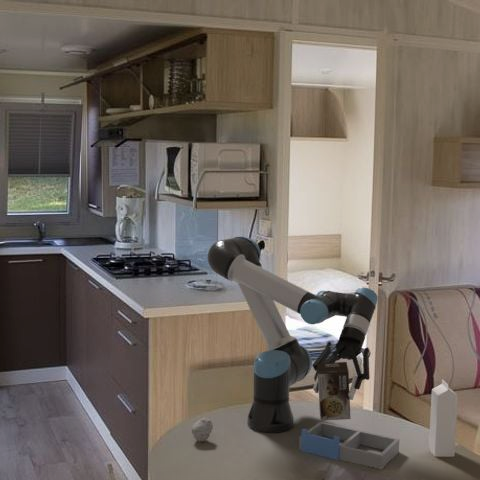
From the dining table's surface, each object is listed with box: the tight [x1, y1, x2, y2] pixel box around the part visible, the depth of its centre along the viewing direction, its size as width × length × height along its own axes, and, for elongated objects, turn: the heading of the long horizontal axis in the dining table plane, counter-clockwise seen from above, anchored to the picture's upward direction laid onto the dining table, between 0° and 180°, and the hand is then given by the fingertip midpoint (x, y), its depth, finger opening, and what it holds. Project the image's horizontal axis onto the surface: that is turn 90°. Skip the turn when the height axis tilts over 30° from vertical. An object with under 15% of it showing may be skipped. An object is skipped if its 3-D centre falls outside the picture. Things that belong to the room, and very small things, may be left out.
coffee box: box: [317, 361, 352, 422], centre depth 223 cm, size 9×6×16 cm
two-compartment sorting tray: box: [298, 421, 401, 470], centre depth 224 cm, size 26×16×7 cm, turn 59°
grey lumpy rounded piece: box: [191, 417, 214, 443], centre depth 229 cm, size 6×7×7 cm
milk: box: [428, 379, 459, 458], centre depth 223 cm, size 6×6×22 cm
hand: (332, 394), depth 222 cm, fingers closed on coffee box, 11 cm apart
